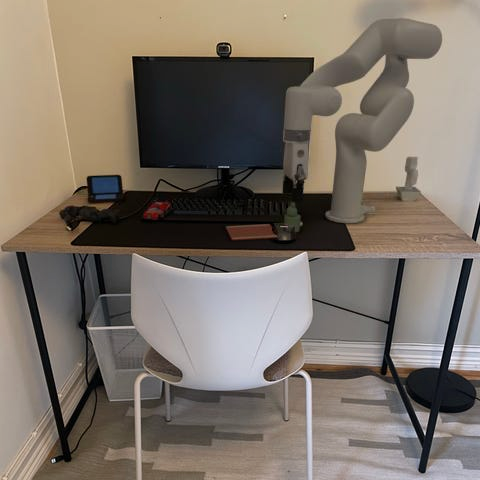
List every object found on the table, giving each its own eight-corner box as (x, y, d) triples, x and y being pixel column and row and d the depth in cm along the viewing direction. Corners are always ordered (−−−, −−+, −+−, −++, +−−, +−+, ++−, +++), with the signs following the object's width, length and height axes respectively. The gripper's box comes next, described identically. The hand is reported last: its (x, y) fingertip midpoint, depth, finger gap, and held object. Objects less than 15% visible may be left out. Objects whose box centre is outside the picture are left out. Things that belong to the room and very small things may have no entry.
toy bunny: (299, 227, 151) (301, 199, 146) (304, 232, 146) (306, 203, 142) (282, 228, 150) (283, 200, 145) (286, 233, 146) (287, 204, 141)
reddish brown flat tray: (269, 224, 152) (269, 223, 152) (279, 237, 142) (279, 236, 142) (225, 227, 150) (225, 226, 150) (231, 240, 140) (231, 239, 140)
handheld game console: (87, 203, 171) (84, 182, 168) (89, 196, 181) (86, 175, 177) (124, 201, 174) (121, 180, 170) (123, 194, 183) (121, 174, 180)
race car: (156, 223, 153) (155, 210, 151) (141, 221, 155) (139, 208, 153) (174, 211, 164) (173, 199, 162) (160, 209, 166) (159, 198, 164)
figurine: (400, 202, 175) (407, 159, 168) (393, 195, 183) (399, 154, 176) (420, 202, 175) (428, 159, 168) (412, 195, 184) (419, 154, 176)
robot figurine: (129, 215, 161) (73, 210, 165) (128, 202, 159) (72, 197, 162) (105, 233, 146) (45, 226, 149) (104, 219, 144) (42, 212, 147)
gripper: (319, 140, 128) (313, 205, 136) (300, 131, 143) (296, 190, 151) (292, 140, 127) (287, 205, 135) (276, 131, 141) (272, 190, 150)
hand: (292, 197), depth 143 cm, fingers open, 9 cm apart
